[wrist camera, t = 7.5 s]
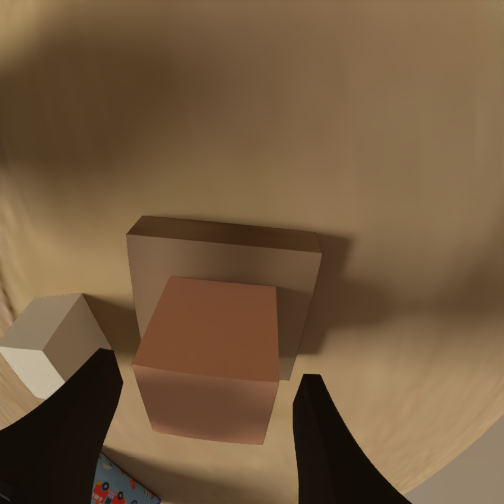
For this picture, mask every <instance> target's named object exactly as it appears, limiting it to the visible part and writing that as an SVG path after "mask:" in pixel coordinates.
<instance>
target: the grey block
mask: <svg viewBox="0 0 504 504" xmlns="http://www.w3.org/2000/svg"><path fill="white" fill-rule="evenodd" d="M99 348H104V349H108V350H111V346H110V344H109V343H108V341H107V339H106V337H105V336H104V334H103V332H102V330H101V328H100V327H99V325H98V323H97V321H96V319H95V317H94V316H93V314H92V312H91V310H90V308H89V306H88V304H87V302H86V300H85V298H84V296H83V294H82V293H78V294H67V295H56V296H44V297H35V298H34V299H33V300H32V301H31V302H30V304H29V305H28V306H27V307H26V308H25V310H24V311H23V312H22V313H21V314H20V316H19V317H18V318H17V319H16V321H15V322H14V323H13V324H12V326H11V327H10V328H9V330H8V331H7V332H6V334H5V335H4V336H3V337H2V339H1V340H0V352H1V354H2V355H3V356H4V358H5V359H6V361H7V362H8V363H9V365H10V366H11V367H12V369H13V370H14V371H15V372H16V374H17V375H18V376H19V378H20V379H21V380H22V381H23V382H24V384H25V385H26V386H27V387H28V389H29V390H30V391H31V392H32V393H33V394H34V396H35V397H38V398H43V399H48V398H49V397H50V396H51V395H52V394H53V393H54V392H55V391H56V390H58V389H59V388H60V387H61V386H62V385H63V384H64V383H65V382H66V381H67V380H68V379H69V378H70V377H71V376H72V375H73V374H74V373H75V372H76V371H77V370H78V369H79V368H80V367H81V366H82V365H83V364H84V363H85V362H86V361H87V360H88V359H89V358H90V357H91V356H92V355H93V354H94V353H95V352H96V351H97V350H98V349H99Z"/></svg>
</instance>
